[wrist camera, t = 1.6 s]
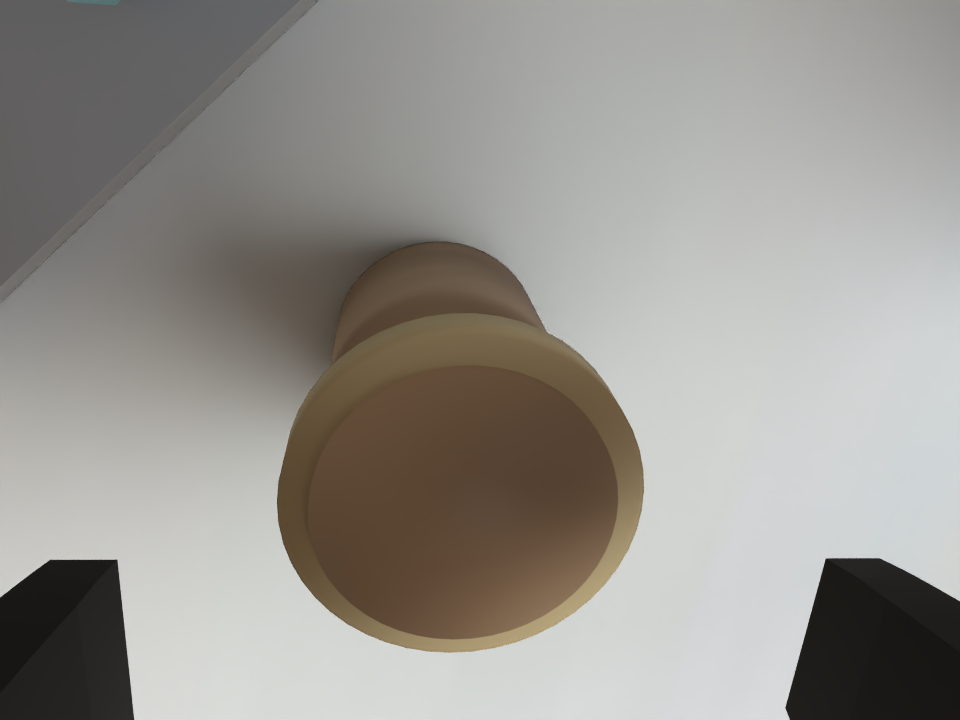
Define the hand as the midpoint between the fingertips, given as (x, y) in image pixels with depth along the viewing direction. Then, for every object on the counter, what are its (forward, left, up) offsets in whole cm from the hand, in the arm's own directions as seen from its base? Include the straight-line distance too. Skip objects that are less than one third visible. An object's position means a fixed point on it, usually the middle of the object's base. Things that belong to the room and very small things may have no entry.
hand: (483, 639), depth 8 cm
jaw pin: (0, 0, -9) cm, 9 cm away
